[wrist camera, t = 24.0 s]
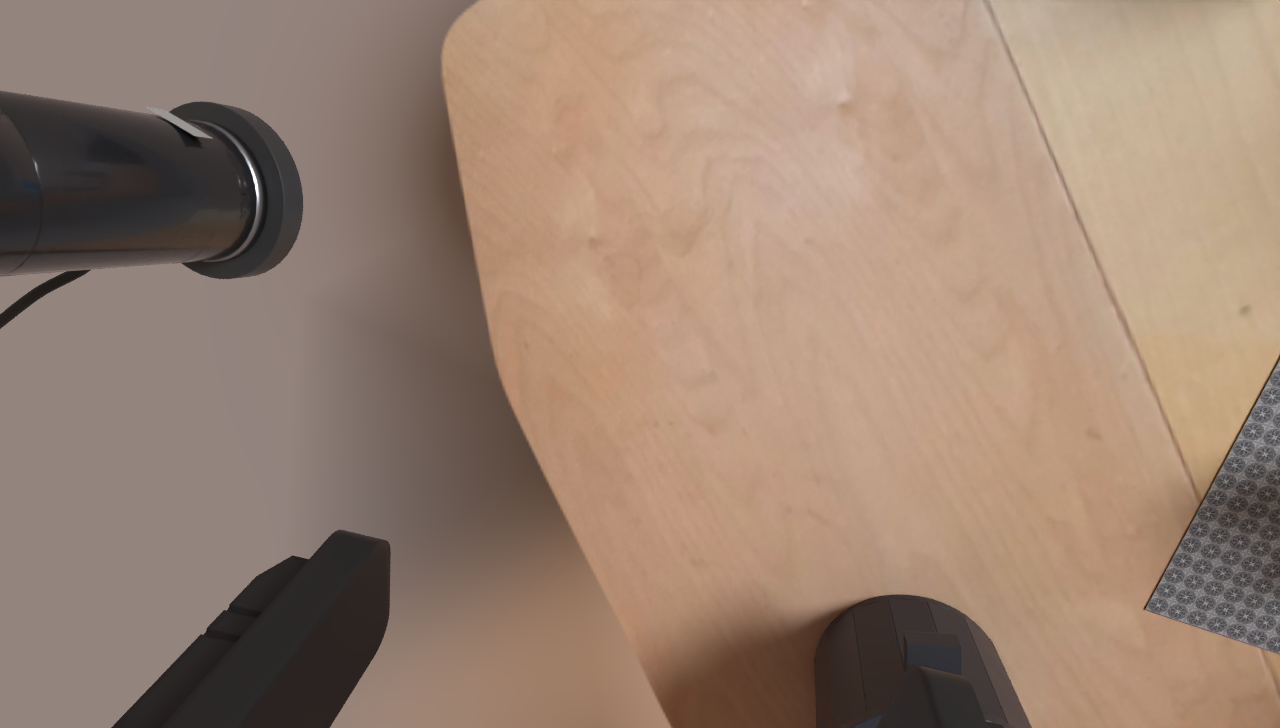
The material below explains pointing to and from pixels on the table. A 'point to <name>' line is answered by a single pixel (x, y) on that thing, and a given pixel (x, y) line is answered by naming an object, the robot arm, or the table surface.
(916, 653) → the pot
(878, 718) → the lid
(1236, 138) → the table surface
